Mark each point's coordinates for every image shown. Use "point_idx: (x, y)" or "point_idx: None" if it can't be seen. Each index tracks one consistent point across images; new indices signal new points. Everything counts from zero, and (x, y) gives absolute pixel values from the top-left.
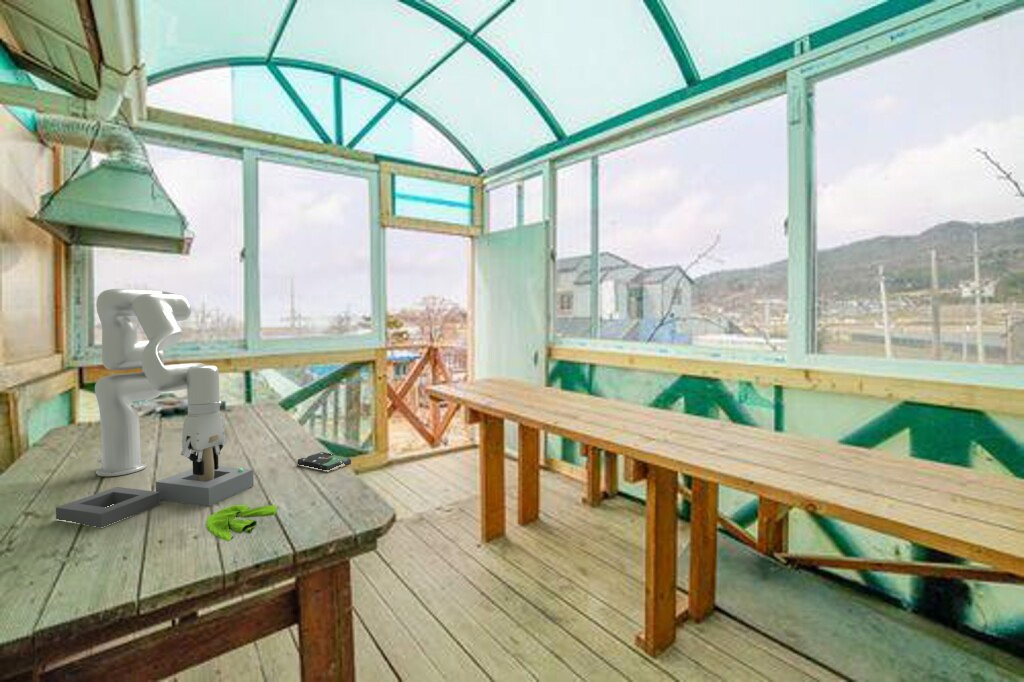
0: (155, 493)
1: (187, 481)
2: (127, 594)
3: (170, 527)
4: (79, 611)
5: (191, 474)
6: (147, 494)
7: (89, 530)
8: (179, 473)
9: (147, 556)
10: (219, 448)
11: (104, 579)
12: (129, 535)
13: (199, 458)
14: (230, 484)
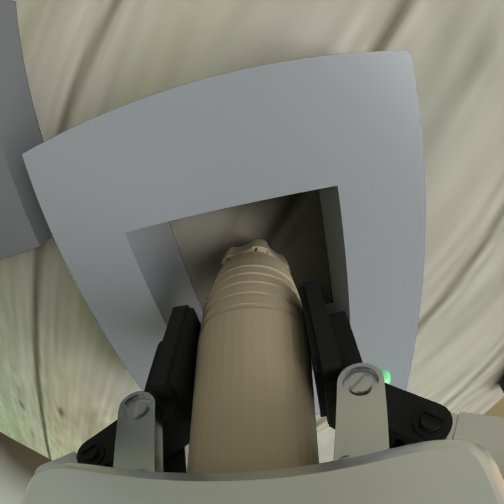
0: (26, 248)
1: (135, 312)
2: (40, 450)
3: (76, 388)
4: (10, 435)
5: (211, 200)
6: (5, 229)
7: None
8: (172, 90)
9: (47, 424)
10: (396, 443)
11: (13, 419)
12: (11, 349)
13: (173, 453)
14: None
